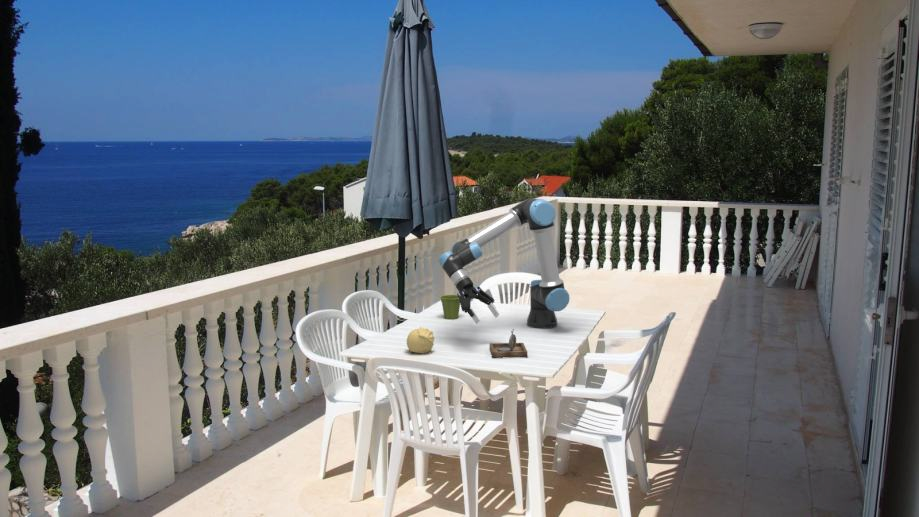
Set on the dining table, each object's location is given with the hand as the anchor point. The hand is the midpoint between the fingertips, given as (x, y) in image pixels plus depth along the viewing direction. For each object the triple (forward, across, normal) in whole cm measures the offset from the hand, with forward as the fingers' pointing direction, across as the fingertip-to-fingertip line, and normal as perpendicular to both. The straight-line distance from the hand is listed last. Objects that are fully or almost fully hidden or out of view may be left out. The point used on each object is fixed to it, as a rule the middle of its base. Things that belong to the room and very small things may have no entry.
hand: (488, 318), depth 334 cm
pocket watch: (+17, +1, 0) cm, 17 cm away
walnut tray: (+18, +1, -1) cm, 18 cm away
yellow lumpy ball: (-4, +23, -23) cm, 33 cm away
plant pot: (-28, -34, -47) cm, 65 cm away
